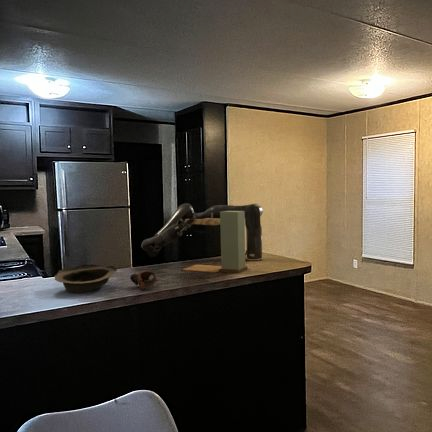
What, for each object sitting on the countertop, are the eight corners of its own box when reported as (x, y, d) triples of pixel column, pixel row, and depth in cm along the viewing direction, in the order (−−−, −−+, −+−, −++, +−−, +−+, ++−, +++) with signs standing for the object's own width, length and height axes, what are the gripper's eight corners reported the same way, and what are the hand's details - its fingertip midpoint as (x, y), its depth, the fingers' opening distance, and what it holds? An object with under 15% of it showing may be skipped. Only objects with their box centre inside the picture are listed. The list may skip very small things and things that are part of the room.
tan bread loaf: (183, 224, 236) (182, 212, 235) (189, 223, 241) (189, 212, 241) (216, 225, 229) (215, 213, 228) (221, 224, 235) (221, 212, 234)
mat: (182, 270, 233) (182, 269, 233) (196, 265, 246) (196, 264, 246) (215, 272, 226) (215, 271, 226) (228, 267, 239) (228, 266, 239)
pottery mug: (159, 285, 202) (160, 271, 197) (151, 299, 194) (153, 285, 189) (133, 278, 201) (134, 265, 197) (124, 292, 193) (125, 278, 189)
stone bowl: (98, 279, 211) (99, 260, 210) (127, 291, 195) (127, 270, 194) (44, 288, 192) (43, 268, 191) (70, 302, 176) (70, 280, 175)
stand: (219, 271, 228) (217, 212, 225) (229, 267, 238) (227, 210, 235) (238, 273, 224) (237, 212, 221) (247, 269, 234) (246, 210, 232)
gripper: (161, 229, 236) (184, 213, 230) (176, 226, 249) (198, 211, 243) (167, 241, 235) (191, 226, 230) (182, 238, 248) (205, 223, 243)
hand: (194, 218), depth 237 cm, fingers closed on tan bread loaf, 2 cm apart
